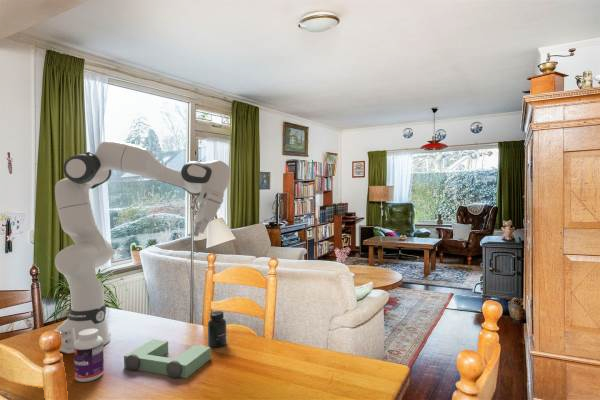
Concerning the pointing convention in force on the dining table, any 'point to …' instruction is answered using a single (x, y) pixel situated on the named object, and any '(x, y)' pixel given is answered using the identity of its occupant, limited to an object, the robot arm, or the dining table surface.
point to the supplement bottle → (217, 330)
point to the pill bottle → (88, 356)
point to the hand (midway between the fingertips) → (197, 234)
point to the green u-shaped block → (166, 359)
